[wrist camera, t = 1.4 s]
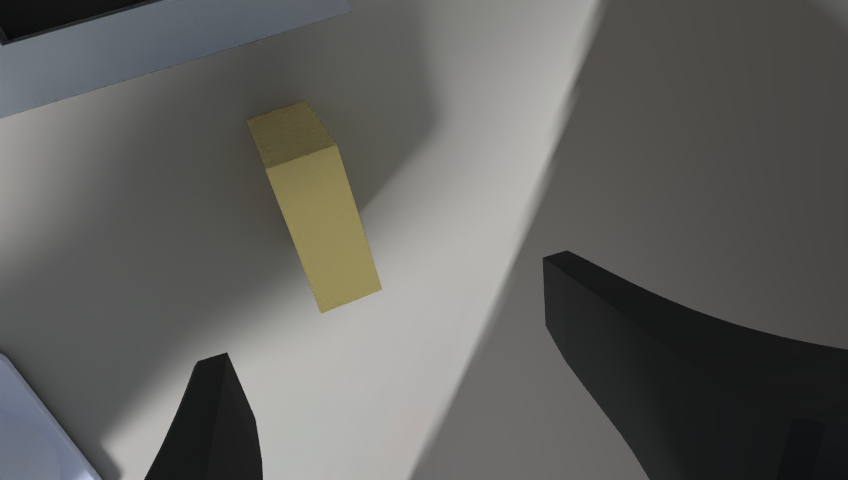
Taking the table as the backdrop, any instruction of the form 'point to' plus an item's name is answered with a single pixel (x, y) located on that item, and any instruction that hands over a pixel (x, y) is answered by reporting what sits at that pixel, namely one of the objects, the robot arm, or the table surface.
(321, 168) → the block
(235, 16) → the box
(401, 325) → the table surface
